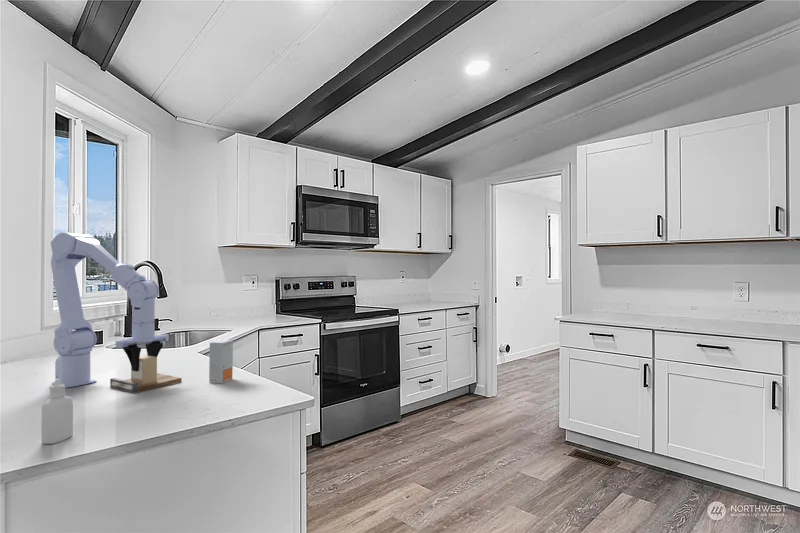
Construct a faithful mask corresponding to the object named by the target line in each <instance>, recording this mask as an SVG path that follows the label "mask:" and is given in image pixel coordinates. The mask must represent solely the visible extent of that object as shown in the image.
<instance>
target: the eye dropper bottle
mask: <svg viewBox="0 0 800 533" xmlns="http://www.w3.org/2000/svg"><path fill="white" fill-rule="evenodd" d="M54 380H55V379H54ZM54 382H55V384H52V385H51V386H50V387H49V397H50V398H49V399H47V400H46V401H45V402H44V403H43V404H42V406H41V444H43V445H55V444H57V443H60V442H63V441H65V440H68V439H69V438H71V437H72V435H74V434H73V433H74V409H73V408H74V405H73V404H74V402H73V398H72V397H71V396H67V395H66V387H65V385H63V384H61V381H60V379H56V380H55V381H54Z"/></svg>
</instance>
